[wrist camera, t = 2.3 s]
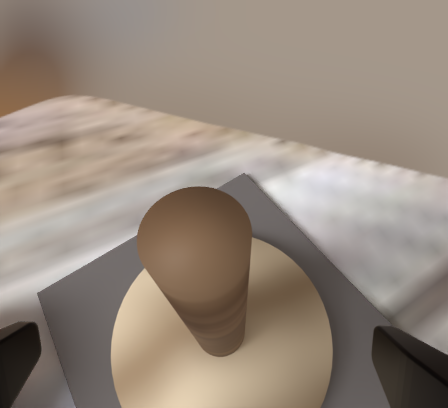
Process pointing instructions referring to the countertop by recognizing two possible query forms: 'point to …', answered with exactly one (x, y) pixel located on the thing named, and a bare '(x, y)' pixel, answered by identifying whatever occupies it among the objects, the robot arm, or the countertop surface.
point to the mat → (132, 266)
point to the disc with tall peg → (217, 315)
